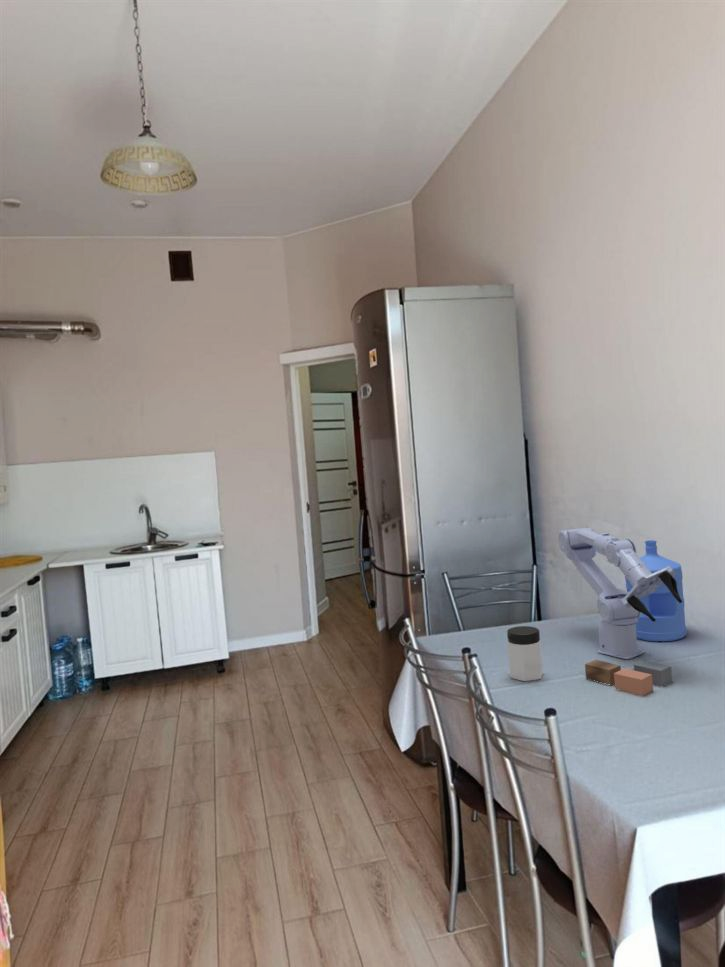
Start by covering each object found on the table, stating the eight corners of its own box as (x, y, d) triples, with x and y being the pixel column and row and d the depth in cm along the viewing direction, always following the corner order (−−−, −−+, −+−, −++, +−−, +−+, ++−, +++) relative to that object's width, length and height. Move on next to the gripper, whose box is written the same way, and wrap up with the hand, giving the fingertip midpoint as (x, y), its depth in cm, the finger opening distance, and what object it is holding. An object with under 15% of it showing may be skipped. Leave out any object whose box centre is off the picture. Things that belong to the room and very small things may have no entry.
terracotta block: (615, 689, 157) (613, 673, 157) (625, 684, 160) (624, 668, 160) (642, 696, 152) (641, 679, 151) (653, 691, 154) (651, 674, 154)
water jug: (643, 625, 207) (636, 536, 206) (695, 631, 195) (688, 538, 194) (619, 637, 196) (612, 544, 195) (673, 645, 185) (666, 546, 183)
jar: (513, 669, 177) (509, 625, 177) (544, 670, 174) (541, 625, 174) (508, 681, 169) (504, 634, 168) (540, 682, 166) (536, 635, 165)
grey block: (635, 680, 162) (633, 664, 162) (645, 675, 164) (644, 660, 164) (662, 687, 156) (660, 670, 156) (672, 682, 159) (671, 666, 158)
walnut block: (586, 679, 165) (584, 664, 165) (597, 675, 168) (596, 659, 168) (610, 686, 160) (609, 670, 159) (621, 681, 162) (620, 665, 162)
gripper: (606, 583, 171) (633, 620, 159) (653, 548, 167) (684, 584, 155) (620, 595, 174) (647, 632, 163) (666, 561, 170) (697, 597, 159)
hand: (666, 610), depth 159 cm, fingers open, 7 cm apart
